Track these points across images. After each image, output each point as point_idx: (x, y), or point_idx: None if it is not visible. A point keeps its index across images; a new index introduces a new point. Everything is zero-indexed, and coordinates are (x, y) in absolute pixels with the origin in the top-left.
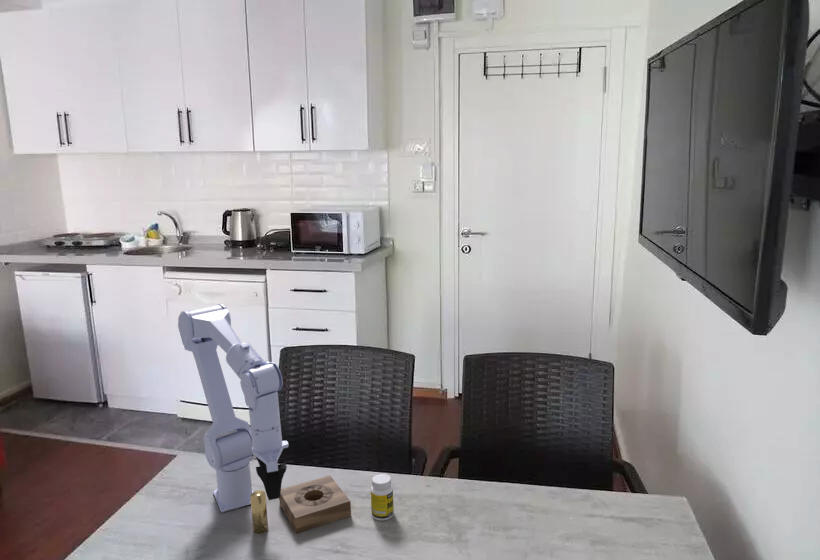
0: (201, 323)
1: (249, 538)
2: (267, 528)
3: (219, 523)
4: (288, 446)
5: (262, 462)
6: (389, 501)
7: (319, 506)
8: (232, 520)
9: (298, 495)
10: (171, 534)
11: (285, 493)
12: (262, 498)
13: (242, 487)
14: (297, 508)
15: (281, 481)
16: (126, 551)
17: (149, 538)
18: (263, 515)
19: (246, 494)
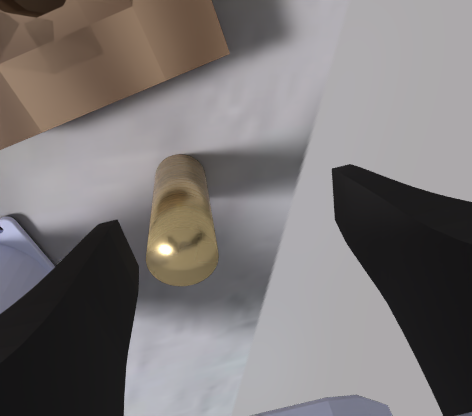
0: None
1: (222, 202)
2: (186, 158)
3: None
4: (342, 396)
5: (113, 376)
6: None
7: None
8: None
9: (23, 49)
10: (177, 369)
11: (10, 121)
12: (208, 232)
13: (7, 301)
14: (150, 47)
15: (451, 199)
16: (226, 413)
17: (187, 397)
18: (203, 192)
19: (7, 267)
